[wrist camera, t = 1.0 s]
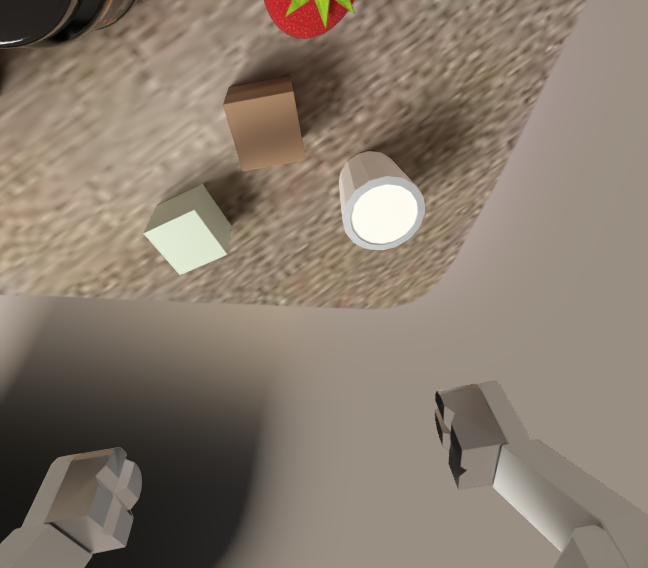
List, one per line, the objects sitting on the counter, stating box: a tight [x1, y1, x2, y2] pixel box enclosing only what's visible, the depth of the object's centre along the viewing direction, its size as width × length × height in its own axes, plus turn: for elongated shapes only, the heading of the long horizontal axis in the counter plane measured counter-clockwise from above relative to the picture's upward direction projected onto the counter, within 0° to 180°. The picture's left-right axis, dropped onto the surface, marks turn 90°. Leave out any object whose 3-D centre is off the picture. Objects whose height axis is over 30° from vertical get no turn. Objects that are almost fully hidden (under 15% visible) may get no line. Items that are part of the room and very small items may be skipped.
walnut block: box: [223, 76, 306, 171], centre depth 31 cm, size 5×5×5 cm
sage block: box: [144, 184, 232, 275], centre depth 37 cm, size 5×5×5 cm
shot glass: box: [339, 151, 425, 250], centre depth 35 cm, size 7×7×7 cm
